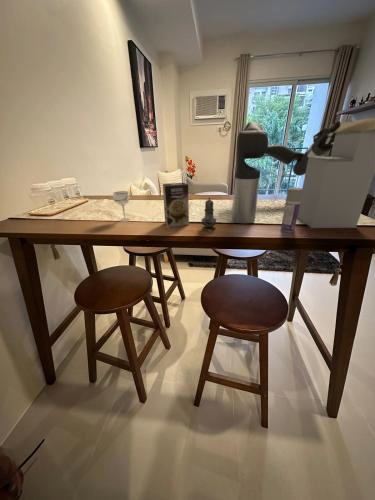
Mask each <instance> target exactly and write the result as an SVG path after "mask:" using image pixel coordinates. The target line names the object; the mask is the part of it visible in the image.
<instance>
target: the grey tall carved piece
mask: <svg viewBox="0 0 375 500" xmlns="http://www.w3.org/2000/svg"><path fill="white" fill-rule="evenodd" d="M204 204H205V205H204V207H205V208H204V210H203V211H204V218H202V219H201V224H202V225H203V227H202V228H201V230H202V231H205V232H213V231H215V230H216V229H217V228H216V227H215V225H216V223H217V221H218V219H216V218H215V217H214V211H215V209H214V201H213V200H211V198H210V197H208V200H206V201H205V203H204Z"/></svg>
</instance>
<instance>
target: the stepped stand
mask: <svg viewBox="0 0 375 500" xmlns="http://www.w3.org/2000/svg"><path fill="white" fill-rule="evenodd" d="M374 176H375V129H370V130H354V131H344V132H336V135H335V139H334V144H333V148H332V149H331V153H330V155H324V156H313V157H309V158H308V163H307V168H306V173H305V174H304V178H303V182H302V183H303V184H302V187H301V188H302V189H303V190H302V196H301V201H300V207H299V212H298V216H297V219H298V220H299V221H302V223H305V225H307V226H308V227H309V228H311V229H329V228H330V229H336V228H337V229H338V228H339V229H342V228H343V229H345V228H346V229H351V228H353V229H355V228H357V226H358V223H359V219H360V217H361V215H362V211H363V208H364V205H365V202H366V200H367V196H368V193H369V191H370V187H371V185H372V182H373V179H374Z"/></svg>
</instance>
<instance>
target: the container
mask: <svg viewBox="0 0 375 500" xmlns="http://www.w3.org/2000/svg"><path fill="white" fill-rule="evenodd" d="M302 190H303V189H302V187H288V189H287V194H286V198H285V204H284V209H283V214H282V220H281V224H280V225H281V226H280V231H282V232H285V233H294V232H295V230H296V225H297V221H298V217H297V216H298V212H299V207H300V201H301V196H302Z"/></svg>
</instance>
